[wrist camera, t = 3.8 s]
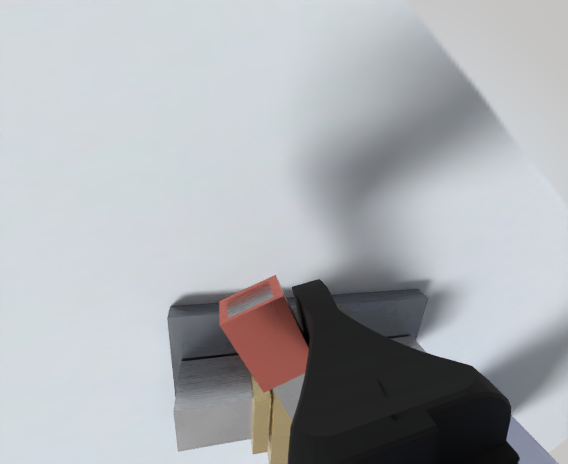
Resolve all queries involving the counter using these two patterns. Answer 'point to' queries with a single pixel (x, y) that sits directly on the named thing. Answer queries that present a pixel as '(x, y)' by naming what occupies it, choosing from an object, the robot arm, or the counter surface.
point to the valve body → (239, 381)
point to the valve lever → (267, 339)
